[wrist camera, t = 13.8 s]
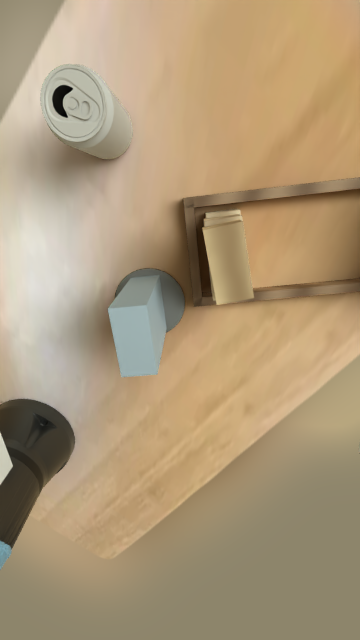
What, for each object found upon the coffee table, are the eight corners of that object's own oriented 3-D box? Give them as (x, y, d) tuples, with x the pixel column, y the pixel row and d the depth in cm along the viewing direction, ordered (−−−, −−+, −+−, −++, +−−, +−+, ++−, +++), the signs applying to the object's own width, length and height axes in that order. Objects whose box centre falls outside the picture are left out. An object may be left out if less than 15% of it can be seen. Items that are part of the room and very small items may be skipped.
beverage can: (87, 90, 37) (41, 45, 26) (140, 110, 37) (118, 74, 26) (76, 149, 39) (29, 131, 28) (126, 167, 40) (100, 157, 29)
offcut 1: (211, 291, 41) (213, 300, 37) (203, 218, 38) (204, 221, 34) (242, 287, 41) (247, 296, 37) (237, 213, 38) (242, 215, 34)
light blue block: (139, 330, 47) (121, 377, 35) (130, 277, 44) (107, 308, 32) (166, 328, 47) (157, 374, 35) (159, 274, 44) (146, 305, 32)
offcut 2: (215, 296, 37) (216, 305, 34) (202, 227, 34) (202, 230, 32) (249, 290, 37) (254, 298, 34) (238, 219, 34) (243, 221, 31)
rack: (193, 302, 46) (194, 329, 36) (183, 198, 41) (181, 198, 31) (401, 282, 44) (457, 306, 34) (417, 170, 39) (488, 162, 29)
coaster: (122, 337, 48) (121, 338, 48) (109, 272, 45) (108, 272, 44) (188, 331, 47) (187, 332, 47) (180, 264, 44) (180, 265, 43)
